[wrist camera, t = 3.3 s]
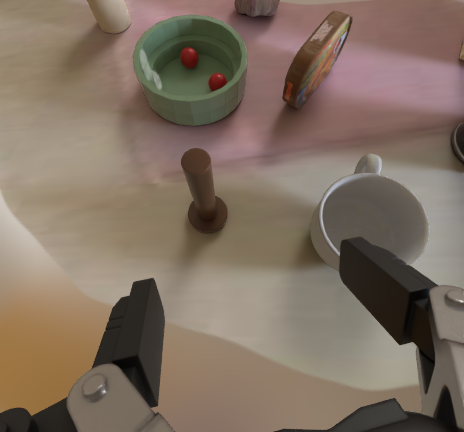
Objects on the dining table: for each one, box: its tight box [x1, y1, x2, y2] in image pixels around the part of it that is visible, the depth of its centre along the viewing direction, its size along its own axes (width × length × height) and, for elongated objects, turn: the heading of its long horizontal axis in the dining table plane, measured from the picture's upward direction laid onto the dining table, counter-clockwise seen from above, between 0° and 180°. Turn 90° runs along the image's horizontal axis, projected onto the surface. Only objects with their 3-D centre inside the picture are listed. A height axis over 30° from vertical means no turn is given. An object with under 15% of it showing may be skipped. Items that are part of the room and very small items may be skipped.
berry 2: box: [208, 73, 227, 92], centre depth 39 cm, size 3×3×3 cm
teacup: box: [310, 154, 430, 271], centre depth 31 cm, size 14×11×8 cm
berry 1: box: [180, 47, 199, 68], centre depth 40 cm, size 3×3×3 cm
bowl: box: [133, 15, 248, 126], centre depth 39 cm, size 16×16×6 cm
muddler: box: [181, 148, 227, 234], centre depth 28 cm, size 5×5×14 cm
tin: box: [282, 11, 353, 109], centre depth 38 cm, size 15×3×8 cm, turn 144°
